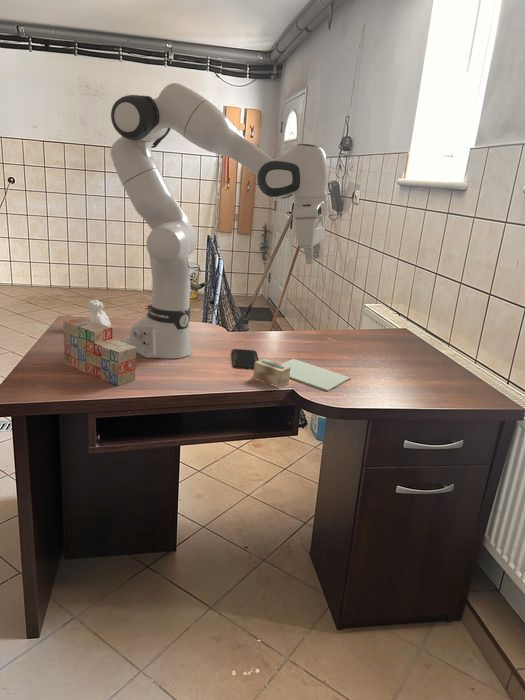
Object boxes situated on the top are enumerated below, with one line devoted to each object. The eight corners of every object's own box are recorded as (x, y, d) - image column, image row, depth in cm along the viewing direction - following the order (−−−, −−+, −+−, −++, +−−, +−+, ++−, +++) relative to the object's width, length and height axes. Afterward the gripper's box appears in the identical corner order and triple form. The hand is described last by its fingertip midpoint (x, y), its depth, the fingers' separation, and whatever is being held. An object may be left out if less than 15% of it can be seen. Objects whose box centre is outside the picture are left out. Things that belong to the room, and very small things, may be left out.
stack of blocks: (136, 380, 135) (137, 335, 131) (117, 386, 130) (118, 340, 126) (82, 358, 146) (82, 316, 142) (63, 363, 141) (62, 320, 137)
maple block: (253, 378, 145) (254, 361, 143) (262, 374, 148) (264, 358, 147) (279, 388, 140) (281, 370, 139) (288, 384, 144) (290, 367, 142)
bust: (99, 330, 177) (78, 304, 173) (117, 318, 178) (97, 292, 173) (98, 341, 166) (75, 314, 162) (117, 328, 167) (95, 301, 162)
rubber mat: (268, 370, 152) (268, 369, 152) (293, 360, 163) (293, 358, 163) (327, 391, 141) (328, 389, 141) (350, 378, 152) (350, 377, 152)
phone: (256, 350, 166) (260, 367, 152) (255, 353, 166) (259, 370, 152) (231, 348, 165) (233, 365, 151) (231, 352, 165) (233, 369, 151)
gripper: (307, 207, 147) (309, 256, 152) (291, 211, 129) (293, 267, 133) (329, 206, 146) (330, 255, 150) (315, 210, 127) (317, 266, 131)
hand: (313, 261), depth 141 cm, fingers open, 8 cm apart
